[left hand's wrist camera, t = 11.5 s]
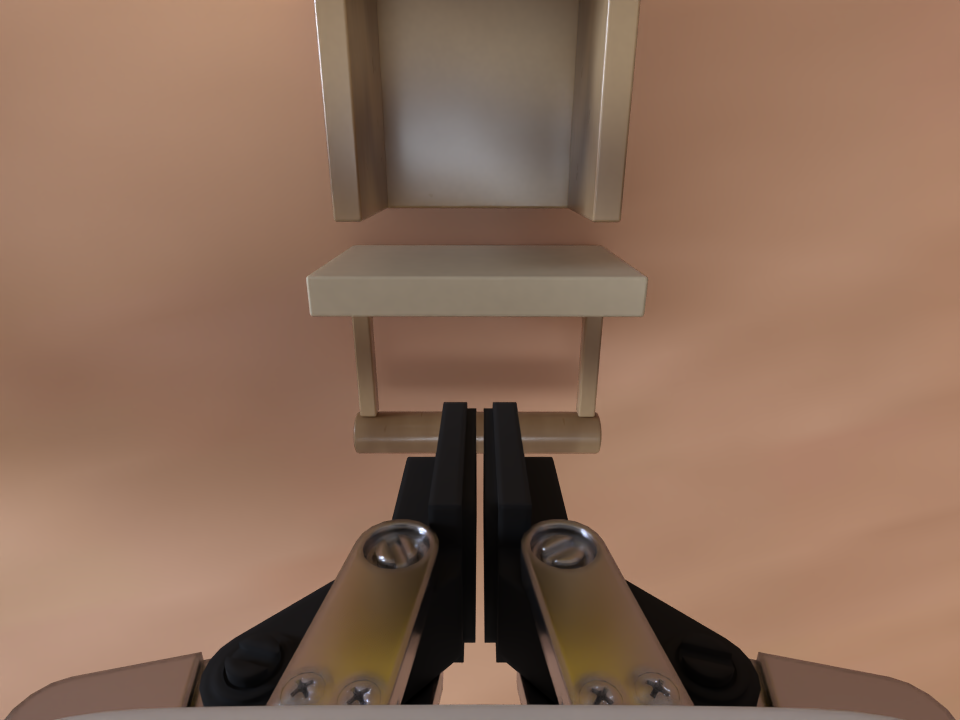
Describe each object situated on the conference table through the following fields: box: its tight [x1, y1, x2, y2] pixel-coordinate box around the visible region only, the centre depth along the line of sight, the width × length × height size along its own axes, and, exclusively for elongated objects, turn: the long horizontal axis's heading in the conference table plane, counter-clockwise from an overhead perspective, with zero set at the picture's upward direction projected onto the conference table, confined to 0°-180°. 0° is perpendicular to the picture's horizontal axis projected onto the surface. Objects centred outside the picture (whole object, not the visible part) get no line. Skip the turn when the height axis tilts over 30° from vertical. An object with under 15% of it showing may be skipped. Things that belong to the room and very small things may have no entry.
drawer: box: [306, 0, 648, 454], centre depth 16 cm, size 23×10×6 cm, turn 0°
